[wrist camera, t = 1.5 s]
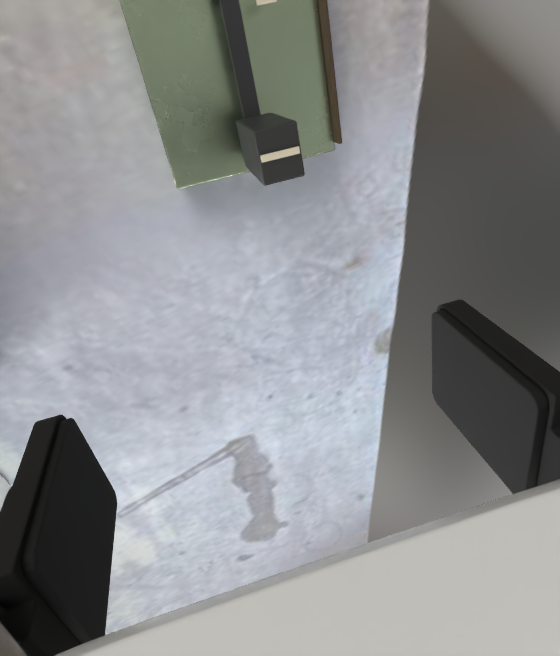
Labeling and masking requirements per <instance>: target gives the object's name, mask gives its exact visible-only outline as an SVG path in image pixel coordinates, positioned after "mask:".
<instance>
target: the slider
mask: <svg viewBox="0 0 560 656" xmlns="http://www.w3.org/2000/svg"><path fill="white" fill-rule="evenodd" d="M236 125H237V130H238V134H239V139H240V143H241V148H242V153H243V157H244V162H245V166H246V167H247V168H248V169H249V170H250V171H251V172H252V173H253V174H254V175H255V176H256V177H257V178H258V179H259V181H260V182H261V183H262V184H263V185H269V184H273V183H277V182H281V181H285V180H289V179H293V178H297V177H301V176H304V167H303V160H302V154H301V147H300V141H299V134H298V128H297V122H296V121H294V120H291V119H289V118H286V117H283V116H280V115H277V114H274V113H271V112H270V113H266V114H261V115H257V116H253V117H249V118H245V119H240V120H237V121H236Z"/></svg>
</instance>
